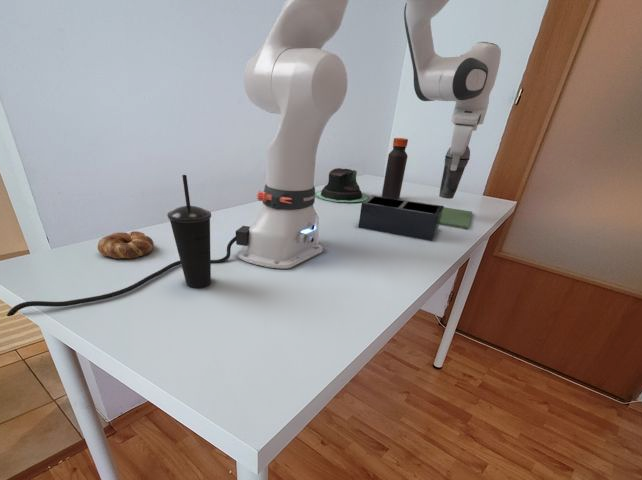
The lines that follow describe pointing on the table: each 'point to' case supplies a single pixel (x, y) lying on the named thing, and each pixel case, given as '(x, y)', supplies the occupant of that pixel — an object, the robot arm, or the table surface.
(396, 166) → the bottle
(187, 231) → the drinking cup
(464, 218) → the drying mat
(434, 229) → the black divided storage box
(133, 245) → the braided bread ring
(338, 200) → the black fabric hat shape
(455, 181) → the beverage cup
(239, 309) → the table surface
